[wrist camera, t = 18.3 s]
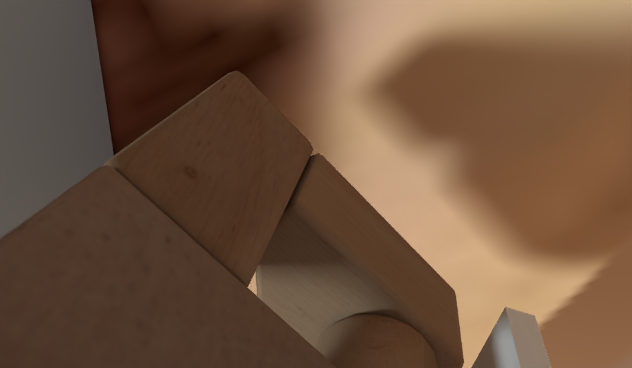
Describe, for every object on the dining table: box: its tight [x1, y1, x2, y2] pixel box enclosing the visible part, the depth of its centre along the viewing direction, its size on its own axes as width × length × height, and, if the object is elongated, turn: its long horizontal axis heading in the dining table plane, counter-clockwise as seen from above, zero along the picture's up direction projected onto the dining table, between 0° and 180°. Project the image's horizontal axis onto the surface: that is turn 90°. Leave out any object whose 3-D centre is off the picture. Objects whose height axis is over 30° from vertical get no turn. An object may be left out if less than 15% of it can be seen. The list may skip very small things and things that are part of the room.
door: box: [0, 0, 114, 238], centre depth 18 cm, size 3×12×9 cm, turn 176°
